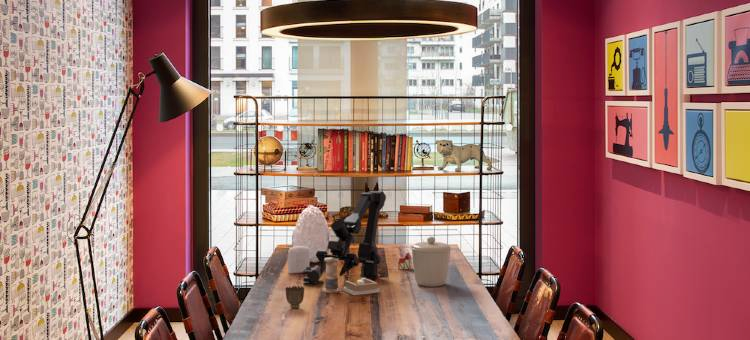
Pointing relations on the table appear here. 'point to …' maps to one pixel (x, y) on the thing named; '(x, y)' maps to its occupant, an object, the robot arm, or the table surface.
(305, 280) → the end cap
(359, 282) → the reel lid
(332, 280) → the bobbin
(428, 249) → the canister
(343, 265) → the robot arm
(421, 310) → the table surface
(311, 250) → the rice ball
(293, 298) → the cup
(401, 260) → the toy house
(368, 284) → the cream cradle stand
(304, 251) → the photo printer
